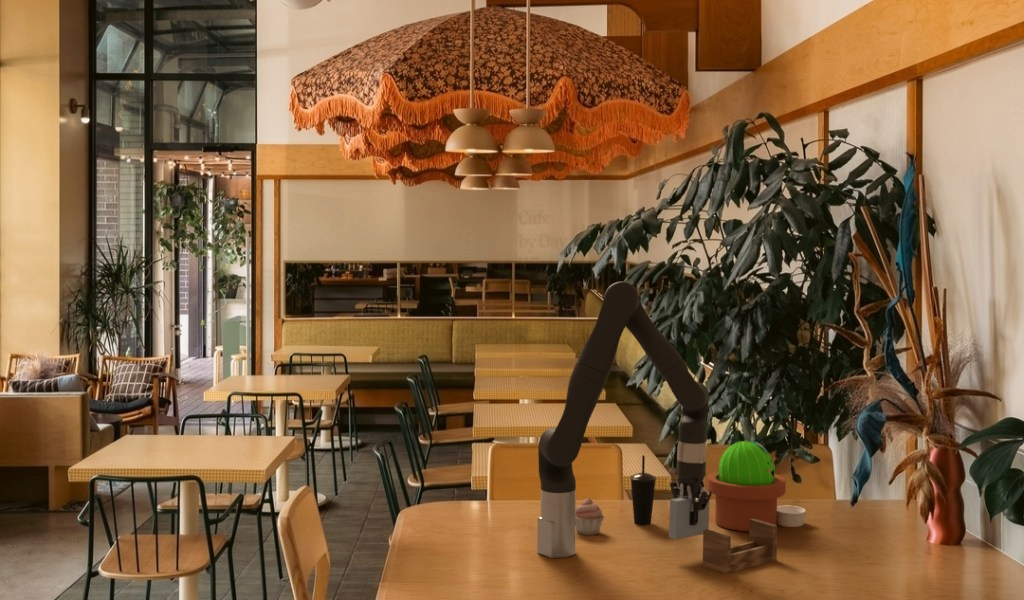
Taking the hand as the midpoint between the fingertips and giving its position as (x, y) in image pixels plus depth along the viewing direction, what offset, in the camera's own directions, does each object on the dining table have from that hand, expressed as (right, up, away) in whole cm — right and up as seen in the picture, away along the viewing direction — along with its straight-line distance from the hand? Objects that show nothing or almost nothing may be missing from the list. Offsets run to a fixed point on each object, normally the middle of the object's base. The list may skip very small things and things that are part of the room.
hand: (689, 523), depth 288 cm
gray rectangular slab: (0, -3, 0) cm, 3 cm away
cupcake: (-25, -7, +22) cm, 34 cm away
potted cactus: (+22, -7, +32) cm, 39 cm away
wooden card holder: (+12, -9, -5) cm, 16 cm away
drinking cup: (-8, -7, +32) cm, 34 cm away
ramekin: (+35, -7, +32) cm, 48 cm away
